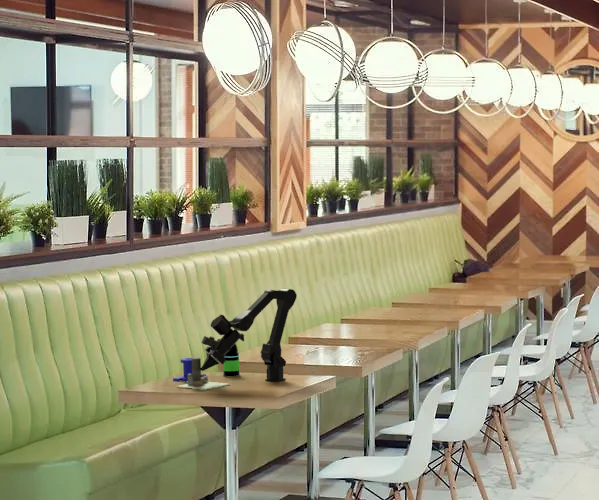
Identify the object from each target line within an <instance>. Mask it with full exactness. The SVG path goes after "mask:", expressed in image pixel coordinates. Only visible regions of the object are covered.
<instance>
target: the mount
mask: <svg viewBox="0 0 599 500" xmlns="http://www.w3.org/2000/svg"><path fill="white" fill-rule="evenodd" d="M192 358H193V357H184V358H180V363H181V364H182V367H183V368H182V369H183V370H182V371H183V375H180V376H177V377H173V379H172V381H173V382H180V381H179V380H181V382H183V381H188V376H187V375H188V374H192ZM203 374H204V376H207V374H206V373H203Z"/></svg>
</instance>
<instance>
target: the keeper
mask: <svg viewBox="0 0 599 500" xmlns="http://www.w3.org/2000/svg"><path fill="white" fill-rule="evenodd" d="M204 374H205V373H201V377H203V376H204ZM187 376H188V382H187V384H188V385H193V381H192V374H188V375H187Z"/></svg>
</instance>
